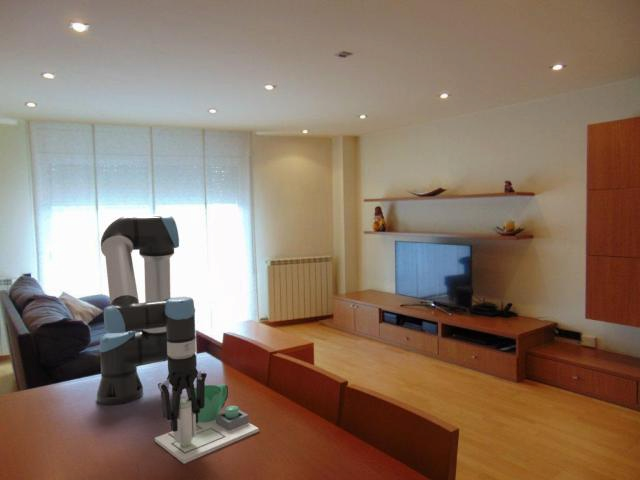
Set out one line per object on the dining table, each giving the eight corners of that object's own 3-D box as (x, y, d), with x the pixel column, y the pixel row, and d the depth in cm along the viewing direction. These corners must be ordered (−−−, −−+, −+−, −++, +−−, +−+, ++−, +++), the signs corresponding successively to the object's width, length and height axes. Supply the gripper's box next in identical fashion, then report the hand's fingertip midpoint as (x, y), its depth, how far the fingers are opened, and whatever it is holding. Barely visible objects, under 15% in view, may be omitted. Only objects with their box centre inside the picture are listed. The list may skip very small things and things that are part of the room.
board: (154, 441, 132) (154, 429, 132) (226, 414, 149) (226, 403, 149) (183, 463, 120) (183, 450, 120) (258, 431, 137) (258, 419, 137)
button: (222, 418, 140) (222, 408, 140) (233, 413, 143) (233, 404, 143) (230, 422, 138) (229, 412, 137) (241, 417, 140) (241, 408, 140)
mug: (208, 432, 138) (207, 399, 137) (183, 425, 142) (182, 394, 142) (238, 412, 151) (237, 382, 150) (215, 407, 155) (214, 378, 155)
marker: (175, 444, 128) (173, 401, 127) (188, 439, 130) (186, 397, 129) (182, 449, 125) (180, 405, 124) (195, 443, 127) (193, 401, 127)
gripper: (158, 365, 117) (162, 455, 119) (216, 350, 129) (219, 432, 131) (145, 359, 123) (149, 445, 124) (202, 345, 134) (205, 423, 136)
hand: (185, 438), depth 127 cm, fingers closed on marker, 4 cm apart
